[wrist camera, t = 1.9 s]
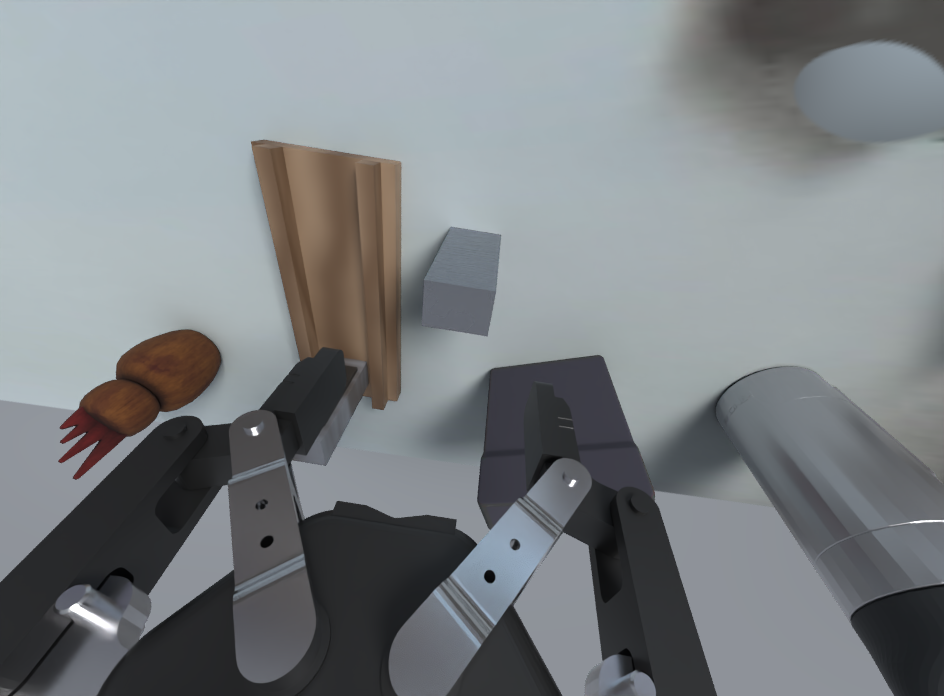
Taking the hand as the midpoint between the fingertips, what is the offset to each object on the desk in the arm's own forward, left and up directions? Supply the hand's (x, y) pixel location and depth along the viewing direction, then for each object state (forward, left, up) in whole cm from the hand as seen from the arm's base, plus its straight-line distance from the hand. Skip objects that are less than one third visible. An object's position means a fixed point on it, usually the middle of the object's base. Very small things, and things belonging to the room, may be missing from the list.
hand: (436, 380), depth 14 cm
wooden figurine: (+28, +16, -17) cm, 36 cm away
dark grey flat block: (-9, +12, -17) cm, 22 cm away
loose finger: (0, 0, -16) cm, 16 cm away
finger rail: (+11, +6, -16) cm, 21 cm away
